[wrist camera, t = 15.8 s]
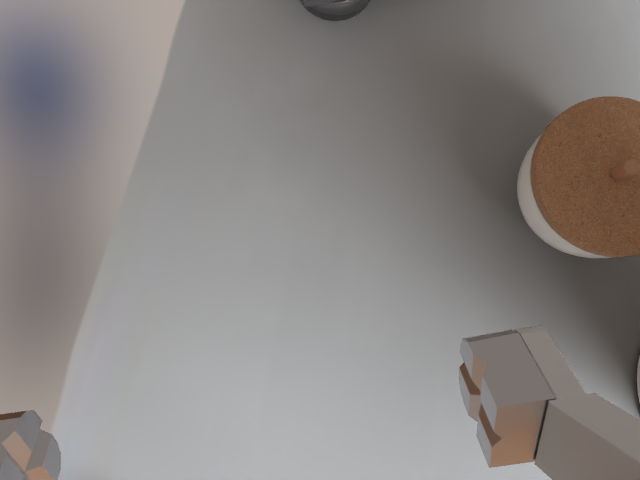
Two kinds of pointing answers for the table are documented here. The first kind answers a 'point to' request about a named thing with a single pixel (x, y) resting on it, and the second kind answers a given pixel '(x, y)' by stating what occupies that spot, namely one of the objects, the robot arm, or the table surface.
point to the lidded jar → (586, 180)
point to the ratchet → (338, 9)
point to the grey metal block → (319, 2)
